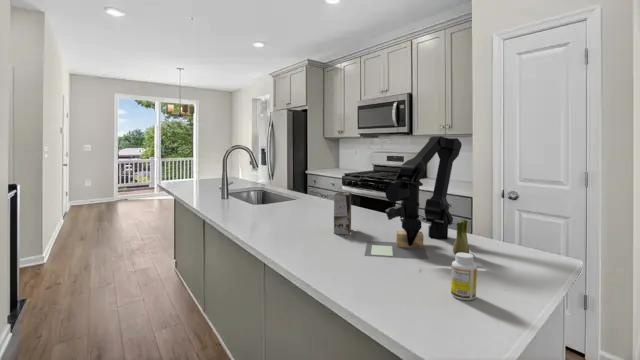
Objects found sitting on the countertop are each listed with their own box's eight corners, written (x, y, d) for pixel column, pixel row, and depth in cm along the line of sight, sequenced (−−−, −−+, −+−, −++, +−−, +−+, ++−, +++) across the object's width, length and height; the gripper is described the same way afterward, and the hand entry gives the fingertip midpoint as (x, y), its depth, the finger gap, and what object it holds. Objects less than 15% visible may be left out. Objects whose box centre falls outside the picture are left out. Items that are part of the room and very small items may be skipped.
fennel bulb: (457, 258, 113) (459, 221, 111) (448, 254, 117) (449, 218, 116) (473, 257, 114) (474, 220, 113) (463, 252, 119) (464, 217, 118)
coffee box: (349, 234, 143) (349, 195, 141) (333, 233, 144) (333, 194, 142) (351, 229, 152) (351, 192, 150) (336, 228, 153) (336, 191, 151)
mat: (422, 245, 128) (422, 243, 127) (428, 261, 110) (428, 258, 110) (367, 242, 131) (367, 240, 131) (364, 257, 114) (364, 255, 113)
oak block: (421, 243, 127) (421, 231, 127) (423, 248, 122) (423, 235, 122) (396, 242, 129) (396, 230, 129) (396, 246, 124) (396, 234, 123)
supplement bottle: (466, 290, 88) (468, 250, 87) (480, 300, 82) (482, 257, 81) (446, 292, 87) (447, 252, 86) (458, 302, 81) (460, 259, 80)
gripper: (387, 194, 134) (386, 234, 136) (387, 202, 116) (386, 248, 118) (417, 195, 132) (415, 236, 134) (422, 203, 114) (420, 250, 116)
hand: (409, 242), depth 125 cm, fingers open, 8 cm apart
